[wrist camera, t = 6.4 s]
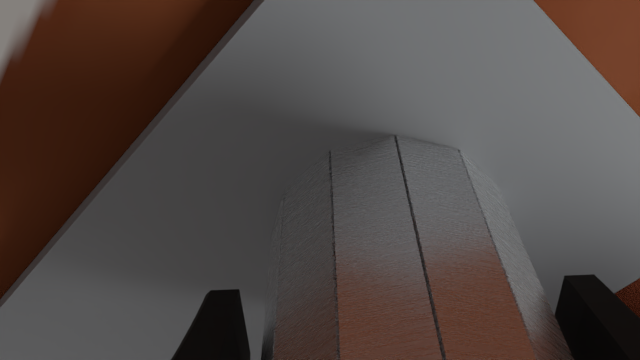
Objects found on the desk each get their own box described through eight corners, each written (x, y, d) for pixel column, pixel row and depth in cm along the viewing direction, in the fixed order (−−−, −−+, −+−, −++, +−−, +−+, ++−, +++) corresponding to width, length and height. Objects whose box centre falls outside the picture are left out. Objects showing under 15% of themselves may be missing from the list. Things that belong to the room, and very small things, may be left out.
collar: (547, 233, 15) (694, 528, 9) (380, 342, 17) (414, 633, 11) (398, 91, 13) (469, 365, 7) (228, 237, 15) (175, 536, 9)
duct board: (711, 196, 16) (818, 313, 12) (269, 477, 23) (262, 595, 20) (389, -159, 11) (421, -124, 8) (-34, 338, 18) (-109, 463, 15)
